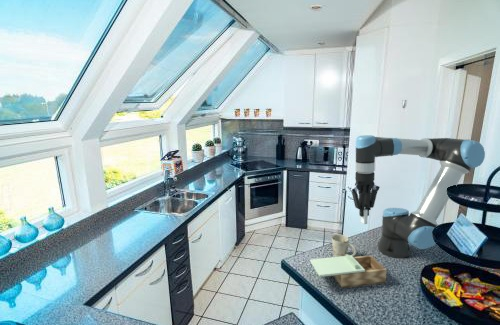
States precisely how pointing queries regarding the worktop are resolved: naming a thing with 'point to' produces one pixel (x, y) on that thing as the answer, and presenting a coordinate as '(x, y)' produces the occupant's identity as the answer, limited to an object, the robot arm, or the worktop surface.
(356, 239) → the worktop surface
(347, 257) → the lid
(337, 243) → the mug
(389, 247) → the robot arm
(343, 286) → the lid box
